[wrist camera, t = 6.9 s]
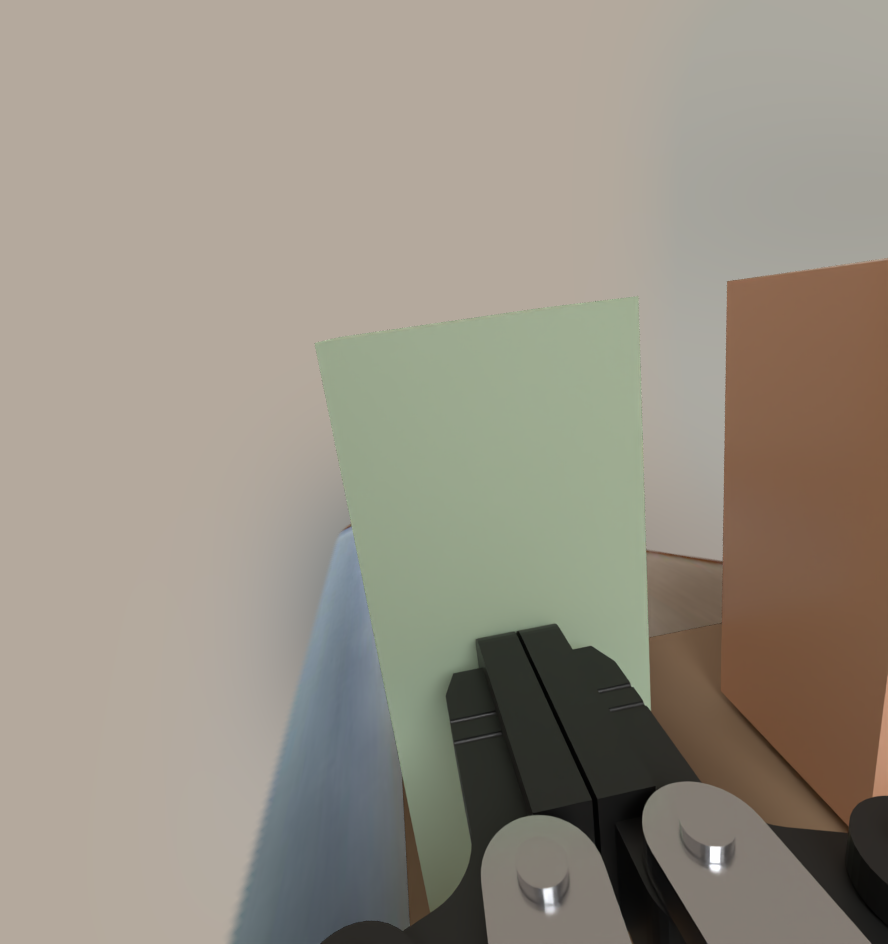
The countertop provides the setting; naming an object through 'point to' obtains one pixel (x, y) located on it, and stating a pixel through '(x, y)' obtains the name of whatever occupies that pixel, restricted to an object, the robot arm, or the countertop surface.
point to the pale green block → (489, 514)
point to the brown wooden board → (699, 745)
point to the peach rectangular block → (809, 522)
